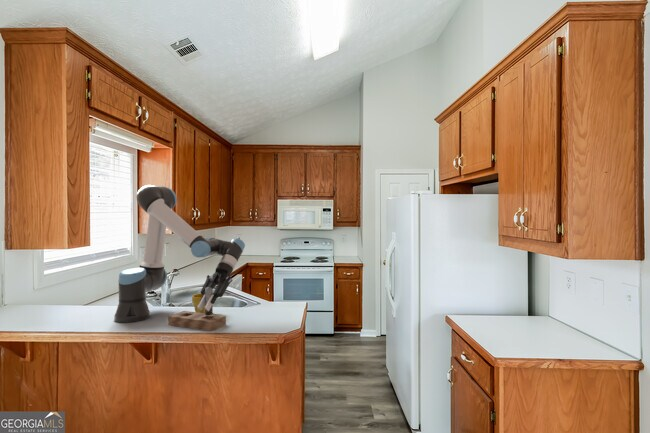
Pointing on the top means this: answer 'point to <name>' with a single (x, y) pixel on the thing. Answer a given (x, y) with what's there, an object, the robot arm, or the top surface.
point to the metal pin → (207, 296)
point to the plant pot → (197, 302)
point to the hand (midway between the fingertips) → (203, 309)
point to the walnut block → (197, 320)
